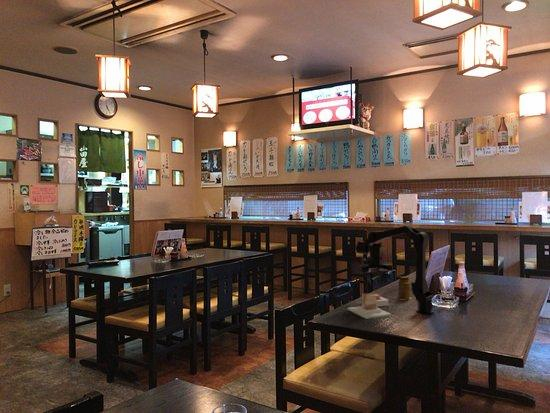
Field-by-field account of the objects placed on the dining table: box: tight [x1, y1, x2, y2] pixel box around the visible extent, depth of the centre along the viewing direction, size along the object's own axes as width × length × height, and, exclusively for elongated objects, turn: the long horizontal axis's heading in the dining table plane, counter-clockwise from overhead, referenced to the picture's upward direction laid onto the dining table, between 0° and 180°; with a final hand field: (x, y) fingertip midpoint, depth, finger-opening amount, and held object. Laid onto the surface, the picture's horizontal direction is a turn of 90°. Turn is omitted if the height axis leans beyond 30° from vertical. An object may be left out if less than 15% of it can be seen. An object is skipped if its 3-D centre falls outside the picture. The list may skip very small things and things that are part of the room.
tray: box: [347, 305, 392, 320], centre depth 216 cm, size 18×14×2 cm
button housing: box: [376, 296, 390, 308], centre depth 233 cm, size 10×10×3 cm
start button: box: [373, 293, 381, 300], centre depth 233 cm, size 5×5×3 cm
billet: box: [361, 292, 376, 310], centre depth 216 cm, size 5×5×8 cm
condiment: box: [392, 275, 413, 301], centre depth 246 cm, size 7×8×12 cm
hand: (375, 283), depth 233 cm, fingers open, 5 cm apart
